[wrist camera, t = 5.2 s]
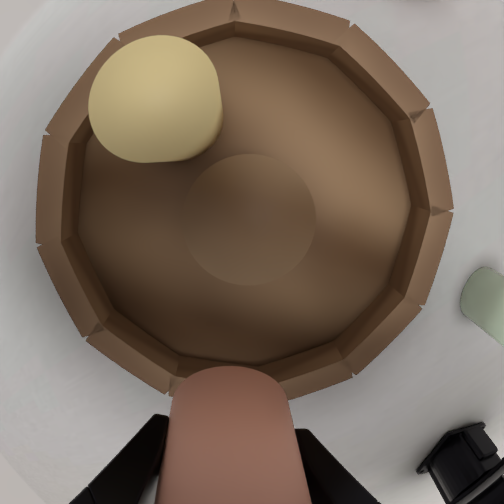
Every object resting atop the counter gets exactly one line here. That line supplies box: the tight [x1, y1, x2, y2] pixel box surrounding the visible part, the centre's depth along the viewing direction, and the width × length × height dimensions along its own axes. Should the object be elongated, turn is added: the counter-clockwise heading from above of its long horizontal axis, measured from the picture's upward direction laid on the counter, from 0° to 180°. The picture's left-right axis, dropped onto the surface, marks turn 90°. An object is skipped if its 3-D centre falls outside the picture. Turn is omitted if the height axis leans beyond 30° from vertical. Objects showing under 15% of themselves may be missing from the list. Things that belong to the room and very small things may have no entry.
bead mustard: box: [88, 35, 223, 163], centre depth 9 cm, size 4×4×5 cm
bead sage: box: [460, 267, 504, 347], centre depth 14 cm, size 4×4×5 cm
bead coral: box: [154, 366, 312, 504], centre depth 6 cm, size 4×4×5 cm
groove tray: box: [36, 0, 454, 400], centre depth 13 cm, size 18×18×2 cm
